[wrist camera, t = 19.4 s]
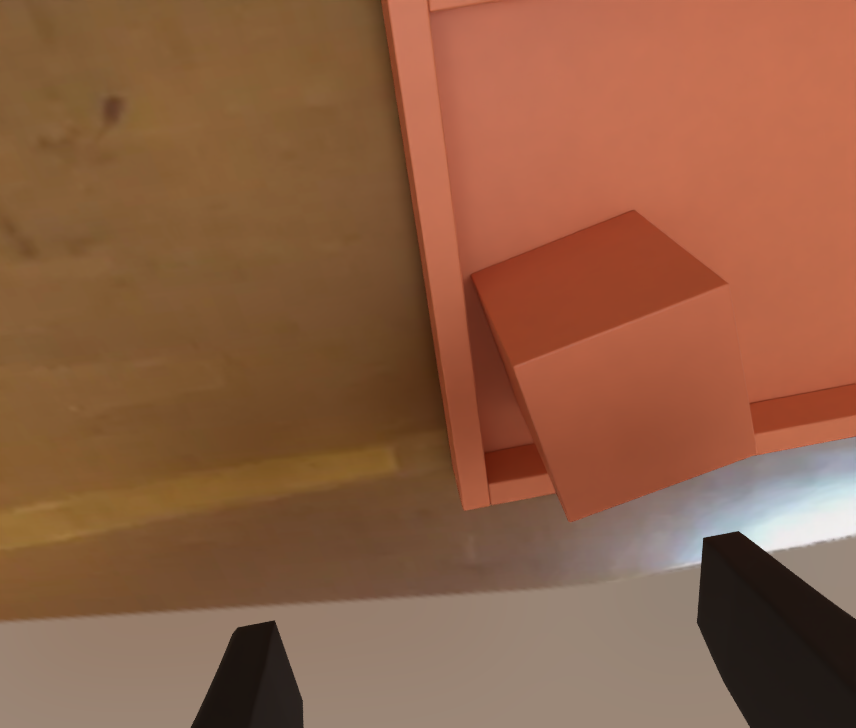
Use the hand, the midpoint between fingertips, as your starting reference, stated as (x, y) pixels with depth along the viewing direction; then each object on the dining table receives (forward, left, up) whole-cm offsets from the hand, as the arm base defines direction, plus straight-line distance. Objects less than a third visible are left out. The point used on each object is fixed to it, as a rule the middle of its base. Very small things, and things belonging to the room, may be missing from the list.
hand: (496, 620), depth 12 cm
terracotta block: (+3, -3, -9) cm, 10 cm away
